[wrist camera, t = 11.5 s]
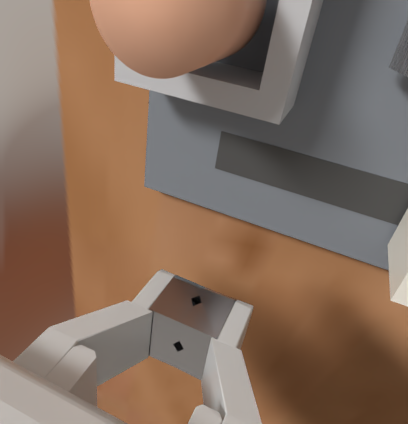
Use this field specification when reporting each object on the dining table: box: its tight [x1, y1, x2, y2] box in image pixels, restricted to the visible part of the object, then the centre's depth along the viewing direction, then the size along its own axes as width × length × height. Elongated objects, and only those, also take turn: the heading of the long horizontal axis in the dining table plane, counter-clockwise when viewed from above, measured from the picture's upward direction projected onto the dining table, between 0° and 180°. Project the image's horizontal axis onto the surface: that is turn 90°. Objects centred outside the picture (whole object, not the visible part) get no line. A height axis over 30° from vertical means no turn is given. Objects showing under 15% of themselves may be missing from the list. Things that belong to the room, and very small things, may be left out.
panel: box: [115, 0, 408, 270], centre depth 13 cm, size 14×22×4 cm, turn 81°
